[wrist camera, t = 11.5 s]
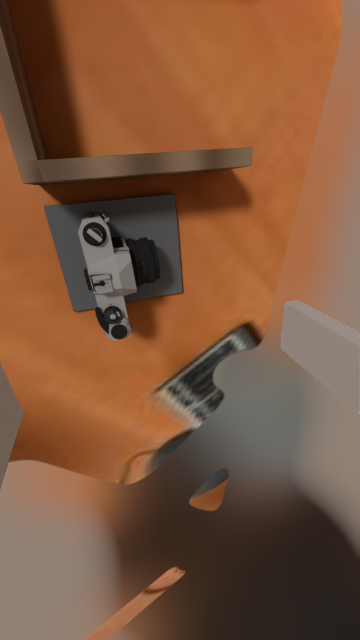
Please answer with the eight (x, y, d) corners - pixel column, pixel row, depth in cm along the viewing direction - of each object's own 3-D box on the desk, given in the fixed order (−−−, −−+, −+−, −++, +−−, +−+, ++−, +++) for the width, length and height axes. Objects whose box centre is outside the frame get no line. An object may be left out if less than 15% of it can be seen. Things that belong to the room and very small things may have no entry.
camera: (161, 306, 36) (181, 332, 28) (104, 322, 34) (106, 354, 26) (139, 202, 31) (155, 198, 23) (70, 215, 29) (61, 215, 21)
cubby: (38, 185, 27) (23, 183, 21) (-57, -150, 18) (-134, -323, 12) (221, 170, 31) (251, 165, 25) (219, -105, 22) (267, -215, 16)
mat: (74, 310, 33) (74, 311, 33) (44, 206, 28) (43, 206, 27) (181, 290, 36) (182, 292, 36) (173, 193, 31) (174, 193, 30)
